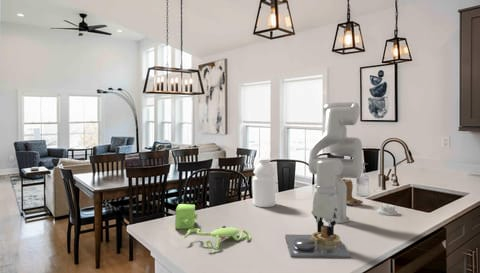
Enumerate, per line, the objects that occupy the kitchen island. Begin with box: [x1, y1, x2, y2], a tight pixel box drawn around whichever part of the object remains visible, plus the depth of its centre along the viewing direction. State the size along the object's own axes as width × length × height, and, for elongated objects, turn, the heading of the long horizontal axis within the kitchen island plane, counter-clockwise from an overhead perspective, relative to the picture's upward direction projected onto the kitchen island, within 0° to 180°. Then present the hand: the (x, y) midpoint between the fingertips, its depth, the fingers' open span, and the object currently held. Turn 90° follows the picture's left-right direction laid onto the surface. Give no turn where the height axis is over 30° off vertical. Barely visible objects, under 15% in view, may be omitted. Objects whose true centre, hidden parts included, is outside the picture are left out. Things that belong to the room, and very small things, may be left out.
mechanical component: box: [376, 203, 398, 216], centre depth 181 cm, size 10×4×10 cm
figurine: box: [184, 225, 252, 253], centre depth 141 cm, size 18×27×6 cm
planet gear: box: [316, 224, 335, 240], centre depth 137 cm, size 8×8×6 cm
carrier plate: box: [284, 232, 351, 258], centre depth 133 cm, size 20×22×4 cm
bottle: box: [252, 157, 277, 208], centre depth 200 cm, size 14×14×28 cm
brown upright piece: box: [342, 178, 364, 206], centre depth 202 cm, size 15×12×15 cm
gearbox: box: [174, 203, 198, 230], centre depth 160 cm, size 18×10×10 cm, turn 3°
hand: (325, 233), depth 137 cm, fingers open, 4 cm apart
